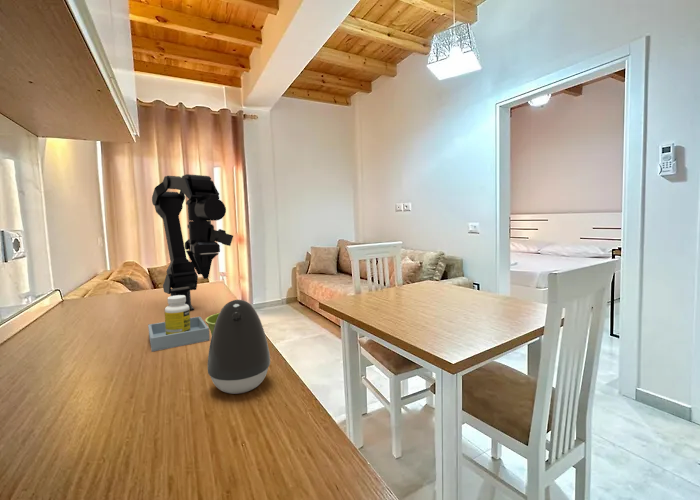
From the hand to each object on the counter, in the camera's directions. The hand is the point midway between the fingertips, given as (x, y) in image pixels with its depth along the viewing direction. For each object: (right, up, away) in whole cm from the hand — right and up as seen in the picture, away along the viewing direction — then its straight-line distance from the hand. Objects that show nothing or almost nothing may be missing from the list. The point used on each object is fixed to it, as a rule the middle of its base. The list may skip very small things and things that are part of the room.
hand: (202, 276), depth 94 cm
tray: (-1, -14, -12) cm, 19 cm away
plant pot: (+17, -15, -24) cm, 33 cm away
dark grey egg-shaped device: (+23, -16, -36) cm, 46 cm away
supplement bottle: (-1, -14, -12) cm, 18 cm away
